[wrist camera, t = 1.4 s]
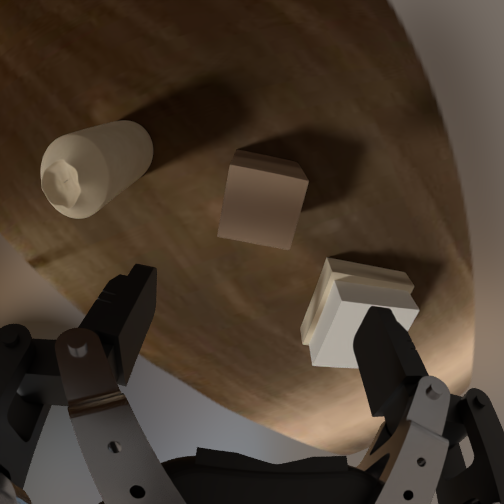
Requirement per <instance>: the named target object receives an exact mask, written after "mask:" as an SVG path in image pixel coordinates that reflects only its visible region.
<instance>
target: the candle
mask: <svg viewBox="0 0 504 504" xmlns="http://www.w3.org/2000/svg"><path fill="white" fill-rule="evenodd" d="M152 158H153V143H152V140H151V138H150V135H149V134H148V132H147V131H146V130H145V129H144V128H143V127H142V126H141V125H139V124H137V123H135V122H132V121H127V120H122V121H115V122H111V123H107V124H103V125H99V126H95V127H91V128H87V129H84V130H80V131H77V132H73V133H70V134H66V135H63V136H61V137H59V138H57V139H56V140H55V141H53V142H52V143H51V144H50V146H49V147H48V148H47V150H46V152H45V154H44V157H43V160H42V164H41V186H42V190H43V192H44V194H45V195H46V197H47V199H48V200H49V202H50V203H51V204H52V205H53V206H54V207H55V208H56V209H57V210H58V211H59V212H60V213H62V214H64V215H66V216H68V217H71V218H77V219H80V218H86V217H89V216H91V215H93V214H95V213H96V212H97V211H98V210H100V209H101V208H102V207H103V206H104V205H106V204H107V203H108V202H109V201H111V200H112V199H113V198H114V197H116V196H117V195H118V194H119V193H121V192H122V191H123V190H125V189H126V188H127V187H128V186H130V185H131V184H132V183H134V182H135V181H136V180H138V179H139V178H140V177H141V176H142V175H143V174H144V173H145V172H146V171H147V169H148V168H149V166H150V164H151V162H152Z"/></svg>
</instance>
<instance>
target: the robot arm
mask: <svg viewBox="0 0 504 504" xmlns="http://www.w3.org/2000/svg"><path fill="white" fill-rule="evenodd" d="M156 285H157V269H156V268H155V267H151V266H146V265H141V264H135V265H134V267H133V268H132V270H131V271H130V273H129V274H128V276H125V275H121V274H120V275H118V276H116V277H115V278H113V279H112V280H110V281H109V282H108V283H107V285H106V286H105V288H104V289H103V292H101V294H100V295H99V297H98V299H97V300H96V301H95V303H94V304H93V306H92V307H91V309H90V310H89V312H88V313H87V315H86V316H85V318H84V319H83V321H82V323H81V324H80V326H79V327H78V328H72V329H69V330H67V331H65V332H63V333H62V334H61V335H60V336H59V337H58V338H57V340H46V339H32V337H31V334H30V332H29V330H28V329H27V328H26V327H25V326H23V325H20V324H9V325H6V326H4V327H2V328H0V504H32V502H31V500H30V498H29V496H28V495H27V493H26V492H25V491H24V490H23V487H24V483H25V480H26V476H27V473H28V470H29V466H30V463H31V460H32V457H33V454H34V451H35V448H36V445H37V442H38V440H39V437H40V434H41V431H42V428H43V426H44V423H45V420H46V418H47V415H48V413H49V410H50V408H51V405H61V406H69V407H68V412H69V416H70V419H71V422H72V426H73V429H74V431H75V435H76V437H77V440H78V443H79V446H80V448H81V451H82V453H83V456H84V459H85V461H86V464H87V466H88V469H89V471H90V473H91V475H92V478H93V480H94V482H95V484H96V487H97V489H98V491H99V493H100V495H101V497H102V499H103V501H102V502H100V503H99V504H431V501H432V498H433V496H434V493H435V490H436V493H437V499H438V504H504V431H503V429H502V426H501V424H500V422H499V419H498V417H497V415H496V412H495V410H494V408H493V406H492V403H491V401H490V399H489V398H488V396H487V395H486V394H485V393H484V392H483V391H481V390H479V389H476V388H472V389H470V390H468V392H467V393H466V394H465V395H464V396H463V397H461V396H457V395H453V394H450V392H449V389H448V387H447V386H446V385H445V383H444V382H442V381H441V380H440V379H438V378H436V377H434V376H429V375H428V373H427V371H426V368H425V366H424V364H423V362H422V360H421V358H420V356H419V354H418V352H417V350H415V349H416V348H415V346H414V344H413V342H412V340H411V338H410V336H409V334H408V332H407V330H406V329H405V328H404V327H403V326H402V325H401V324H400V323H399V322H397V320H396V318H395V316H394V314H393V312H392V310H391V309H390V308H385V307H377V306H371V307H370V308H369V309H368V311H367V313H366V315H365V317H364V319H363V321H362V323H361V325H360V326H359V328H358V330H357V332H356V334H355V336H354V340H353V351H354V354H355V357H356V361H357V364H358V367H359V371H360V374H361V378H362V381H363V385H364V388H365V392H366V395H367V399H368V402H369V406H370V410H371V414H372V417H379V416H384V417H385V421H384V422H383V423H382V424H381V426H380V428H379V430H378V432H377V434H376V436H375V438H374V440H373V442H372V444H371V445H370V447H369V449H368V451H367V453H366V455H365V456H364V458H363V460H362V461H361V463H360V464H359V465H358V466H357V467H353V466H349V465H348V464H347V458H346V456H332V457H310V458H306V459H302V460H298V461H293V462H288V463H283V464H271V463H268V462H264V461H261V460H258V459H254V458H251V457H248V456H245V455H242V454H239V453H234V452H226V451H218V450H211V449H205V448H199V447H198V448H197V452H196V456H187V457H180V458H175V459H171V460H168V461H166V462H163V463H160V461H159V460H158V458H157V456H156V454H155V453H154V451H153V449H152V447H151V446H150V444H149V442H148V440H147V438H146V436H145V434H144V433H143V431H142V429H141V427H140V425H139V423H138V421H137V419H136V417H135V415H134V413H133V411H132V409H131V407H130V404H129V402H128V400H127V398H126V397H125V395H124V394H123V393H121V391H120V389H119V387H118V385H117V384H119V385H122V386H126V385H127V383H128V380H129V378H130V375H131V372H132V369H133V367H134V364H135V361H136V359H137V357H138V354H139V351H140V349H141V346H142V344H143V341H144V339H145V336H146V334H147V331H148V329H149V327H150V324H151V322H152V319H153V316H154V313H155V307H156ZM467 435H468V437H469V440H470V443H471V446H472V449H473V452H474V460H473V463H472V464H471V466H469V467H468V468H467V469H466V466H465V462H464V459H463V456H462V452H461V449H460V446H459V442H460V441H462V440H463V439H464V438H465V437H466V436H467Z"/></svg>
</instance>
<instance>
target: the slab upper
mask: <svg viewBox="0 0 504 504" xmlns="http://www.w3.org/2000/svg"><path fill="white" fill-rule="evenodd" d="M371 306H377V307H385V308H390V309H391V310H392V312H393V314H394V316H395V318H396V320H397V322H399V323H400V324H401V325H402V326H403V327H404V328H405V329H406V330H407V331H408V330H409V328H410V326H411V324H412V323H413V321H414V319H415V317H416V316H417V314H418V312H419V308H418V306H417V305H416V303H415V302H414V300H413V298H412V297H411V295H410V293H409V292H408V291H405V290H398V289H391V288H384V287H377V286H371V285H364V284H357V283H350V282H344V281H337V280H334V282H333V285H332V288H331V290H330V293H329V295H328V298H327V301H326V303H325V306H324V308H323V311H322V313H321V316H320V318H319V321H318V323H317V326H316V328H315V331H314V333H313V335H312V338H311V340H310V343H309V347H310V353H311V360H312V366H324V367H340V368H359V367H358V364H357V361H356V357H355V354H354V351H353V340H354V336H355V334H356V332H357V330H358V328H359V326H360V325H361V323H362V321H363V319H364V317H365V315H366V313H367V311H368V309H369V308H370V307H371Z"/></svg>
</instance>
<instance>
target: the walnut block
mask: <svg viewBox="0 0 504 504" xmlns="http://www.w3.org/2000/svg"><path fill="white" fill-rule="evenodd" d="M308 183H309V180H308V179H307V177H306V175H305V174H304V172H303V170H302V169H301V167H300V165H299V164H298V162H295V161H291V160H286V159H282V158H277V157H272V156H268V155H263V154H258V153H253V152H248V151H243V150H236V152H235V154H234V157H233V159H232V161H231V163H230V167H229V172H228V178H227V183H226V189H225V194H224V200H223V206H222V211H221V217H220V223H219V229H218V235H217V237H222V238H227V239H233V240H238V241H243V242H248V243H254V244H259V245H264V246H270V247H275V248H280V249H285V250H290V247H291V244H292V240H293V237H294V233H295V230H296V226H297V223H298V219H299V216H300V212H301V209H302V205H303V201H304V198H305V194H306V190H307V187H308Z"/></svg>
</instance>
